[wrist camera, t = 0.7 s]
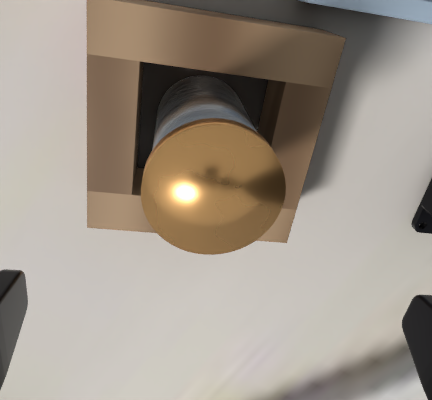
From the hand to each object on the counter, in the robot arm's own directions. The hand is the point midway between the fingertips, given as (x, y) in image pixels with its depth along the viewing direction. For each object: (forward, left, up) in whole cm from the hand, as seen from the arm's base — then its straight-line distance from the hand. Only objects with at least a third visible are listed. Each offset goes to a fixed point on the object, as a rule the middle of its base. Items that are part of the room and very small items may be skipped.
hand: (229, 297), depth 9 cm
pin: (0, 0, -13) cm, 13 cm away
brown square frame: (0, 0, -13) cm, 13 cm away
